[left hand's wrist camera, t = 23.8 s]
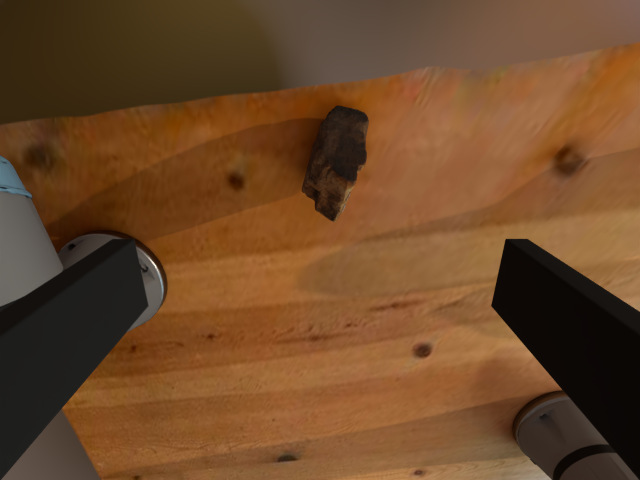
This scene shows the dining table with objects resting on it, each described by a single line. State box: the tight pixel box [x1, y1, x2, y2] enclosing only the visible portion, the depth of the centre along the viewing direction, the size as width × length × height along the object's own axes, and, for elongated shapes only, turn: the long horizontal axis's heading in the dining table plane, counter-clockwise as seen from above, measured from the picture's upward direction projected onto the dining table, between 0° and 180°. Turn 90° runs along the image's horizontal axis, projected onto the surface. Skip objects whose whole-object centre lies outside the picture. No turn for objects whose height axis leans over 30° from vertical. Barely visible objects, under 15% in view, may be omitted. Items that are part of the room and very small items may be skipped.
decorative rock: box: [302, 106, 369, 222], centre depth 39 cm, size 12×6×11 cm, turn 158°
